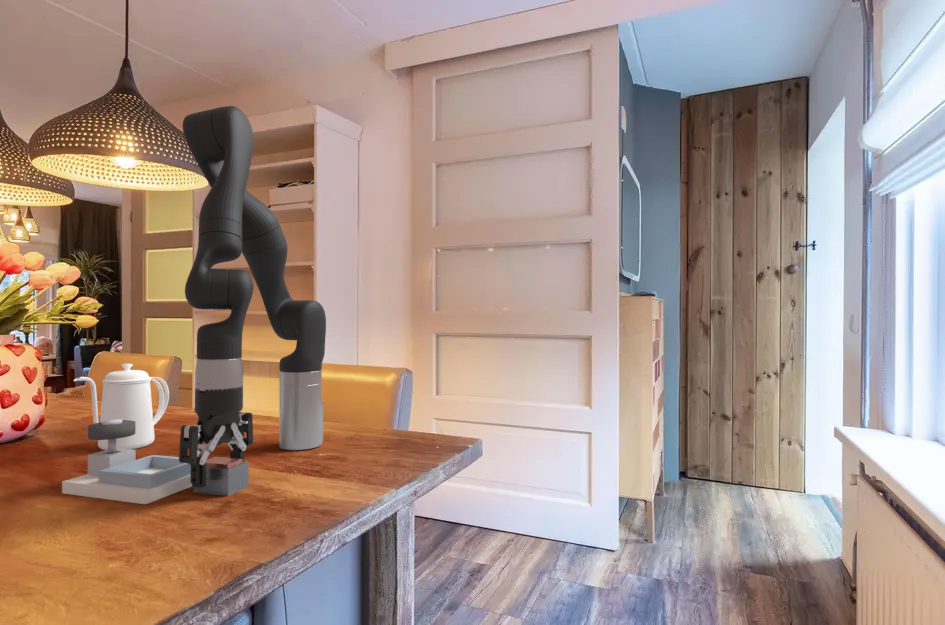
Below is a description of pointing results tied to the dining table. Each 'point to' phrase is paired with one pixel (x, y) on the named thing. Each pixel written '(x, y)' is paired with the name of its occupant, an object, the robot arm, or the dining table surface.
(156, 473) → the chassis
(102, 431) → the wheel
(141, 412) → the coffeepot
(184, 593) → the dining table surface
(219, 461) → the copper topped block
